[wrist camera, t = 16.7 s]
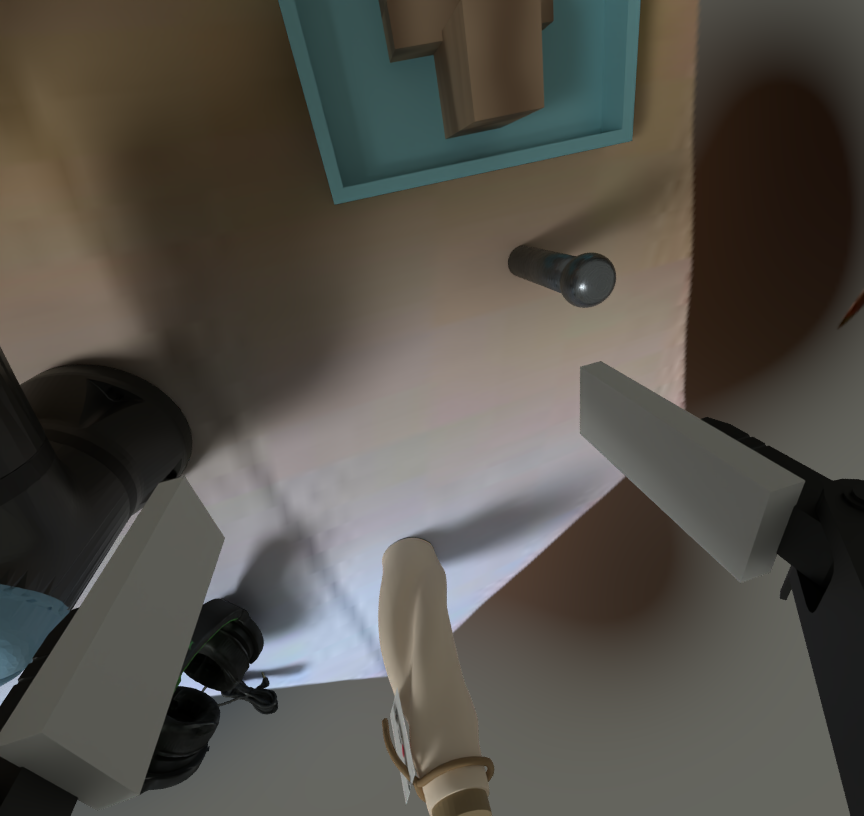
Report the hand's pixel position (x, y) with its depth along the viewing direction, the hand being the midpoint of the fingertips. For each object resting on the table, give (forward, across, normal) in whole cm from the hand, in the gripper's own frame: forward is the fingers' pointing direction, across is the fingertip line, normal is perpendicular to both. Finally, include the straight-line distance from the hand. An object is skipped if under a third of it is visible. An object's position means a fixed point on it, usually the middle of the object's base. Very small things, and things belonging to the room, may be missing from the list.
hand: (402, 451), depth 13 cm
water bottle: (+29, -4, -38) cm, 48 cm away
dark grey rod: (+29, +17, -1) cm, 33 cm away
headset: (+29, -30, -41) cm, 59 cm away
